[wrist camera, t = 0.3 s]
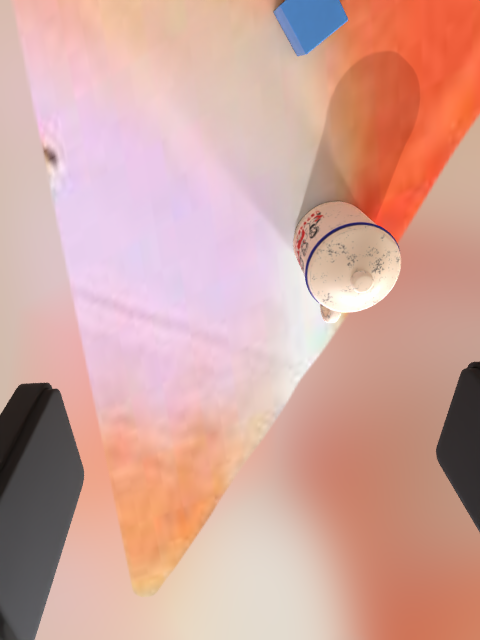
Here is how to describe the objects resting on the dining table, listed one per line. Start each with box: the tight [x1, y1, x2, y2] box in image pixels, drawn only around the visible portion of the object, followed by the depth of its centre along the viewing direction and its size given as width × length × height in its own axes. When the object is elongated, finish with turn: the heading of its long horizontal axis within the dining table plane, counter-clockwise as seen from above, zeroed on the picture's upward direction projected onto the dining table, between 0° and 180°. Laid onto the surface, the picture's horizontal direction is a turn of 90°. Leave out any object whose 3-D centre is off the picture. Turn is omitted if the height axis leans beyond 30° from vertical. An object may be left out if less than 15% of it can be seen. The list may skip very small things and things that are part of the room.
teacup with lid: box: [293, 201, 401, 323], centre depth 42 cm, size 12×9×12 cm
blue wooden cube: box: [274, 0, 348, 56], centre depth 34 cm, size 4×4×4 cm
